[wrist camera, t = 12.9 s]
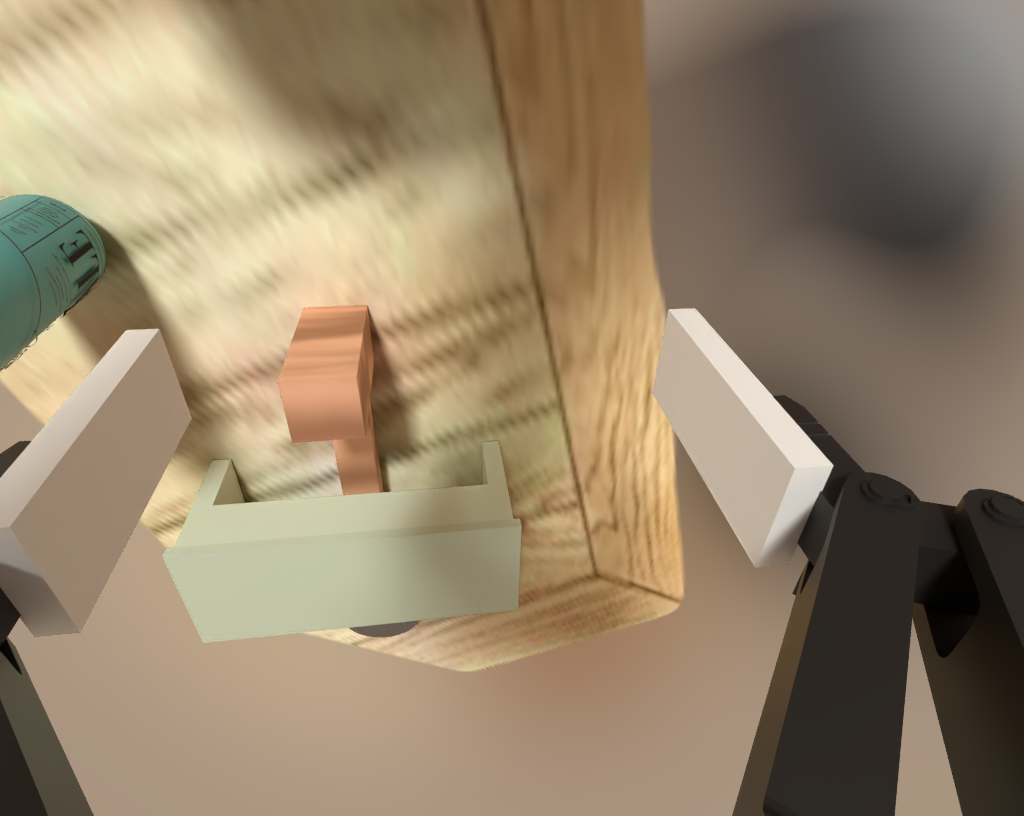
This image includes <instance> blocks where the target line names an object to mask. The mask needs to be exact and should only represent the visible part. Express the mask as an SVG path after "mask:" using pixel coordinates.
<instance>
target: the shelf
mask: <svg viewBox="0 0 1024 816" xmlns="http://www.w3.org/2000/svg"><path fill="white" fill-rule="evenodd" d="M521 530H522V525H521V520H520V518H518V519H513V514H512V508H511V503H510V498H509V492H508V487H507V482H506V476H505V471H504V466H503V460H502V455H501V450H500V444H499V441H488V442H482V485H473V486H460V487H447V488H434V489H421V490H408V491H395V492H382V493H369V494H356V495H343V496H330V497H317V498H304V499H291V500H278V501H265V502H252V503H245V500H244V497H243V494H242V491H241V488H240V485H239V482H238V479H237V476H236V473H235V470H234V467H233V464H232V461H231V459H224V460H212V461H211V464H210V466H209V468H208V470H207V473H206V475H205V477H204V480H203V482H202V484H201V486H200V489H199V491H198V493H197V496H196V498H195V500H194V503H193V505H192V507H191V509H190V512H189V514H188V516H187V519H186V521H185V523H184V525H183V528H182V530H181V532H180V535H179V537H178V539H177V541H176V544H175V546H174V548H166V550H165V552H164V554H163V559H164V562H165V564H166V566H167V567H168V570H169V572H170V574H171V576H172V578H173V580H174V583H175V585H176V587H177V589H178V591H179V593H180V595H181V597H182V599H183V601H184V603H185V606H186V608H187V610H188V612H189V614H190V616H191V618H192V620H193V622H194V624H195V626H196V629H197V631H198V632H199V635H200V637H201V639H202V641H203V643H206V642H215V641H225V640H235V639H245V638H254V637H264V636H273V635H283V634H293V633H303V632H312V631H322V630H331V629H341V628H351V627H360V626H370V625H380V624H389V623H399V622H409V621H418V620H428V619H438V618H447V617H457V616H467V615H476V614H486V613H496V612H505V611H515V610H518V602H519V578H520V554H521Z"/></svg>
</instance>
